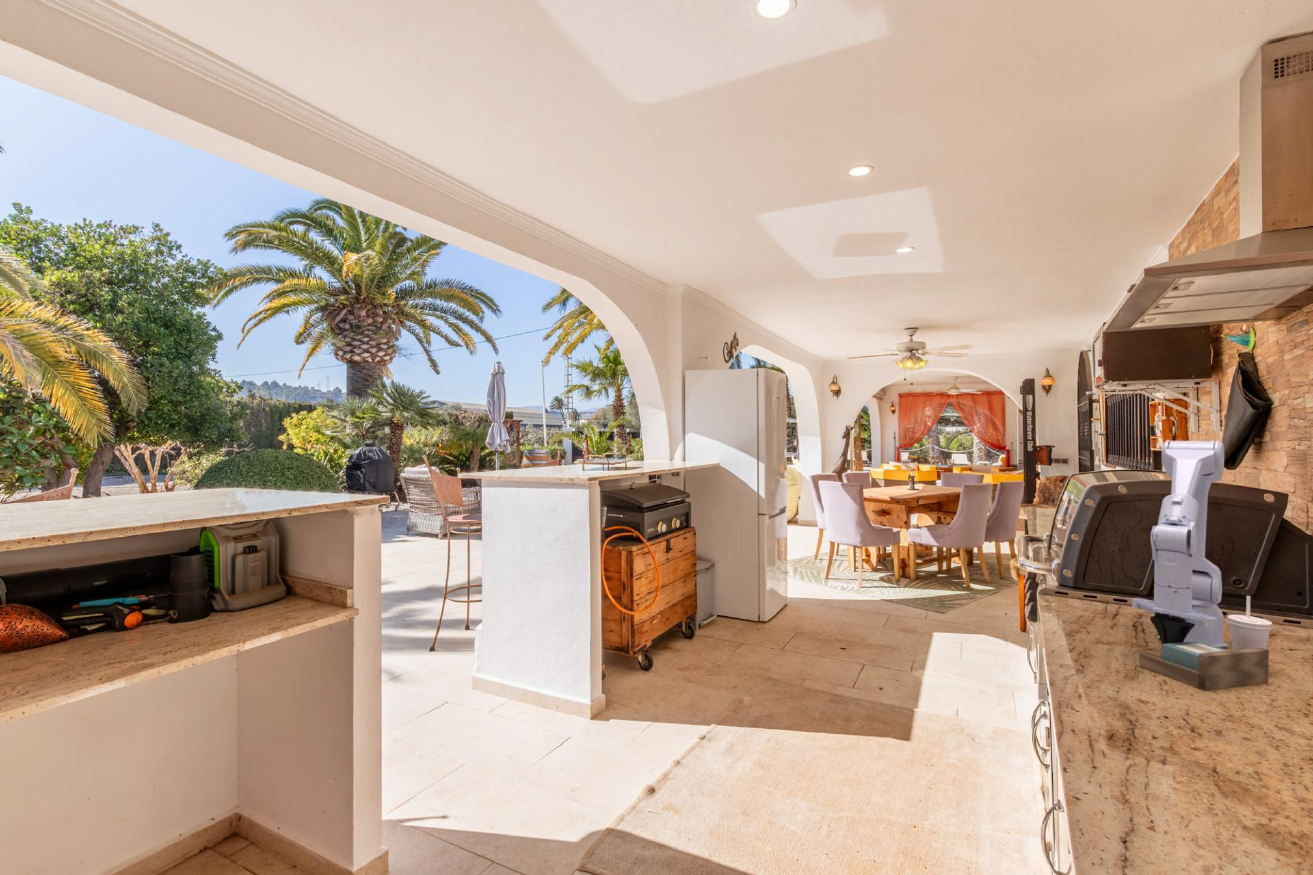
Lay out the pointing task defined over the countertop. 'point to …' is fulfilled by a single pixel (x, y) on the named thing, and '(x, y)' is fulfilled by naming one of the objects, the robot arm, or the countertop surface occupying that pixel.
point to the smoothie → (1248, 630)
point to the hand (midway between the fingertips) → (1171, 654)
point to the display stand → (1216, 669)
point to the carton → (1187, 653)
